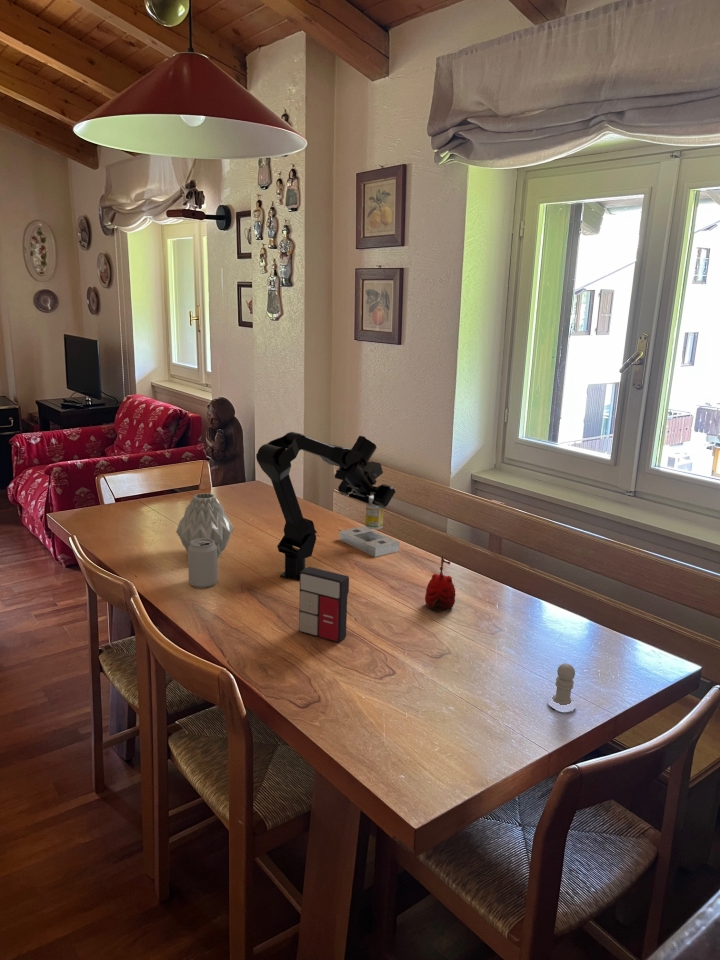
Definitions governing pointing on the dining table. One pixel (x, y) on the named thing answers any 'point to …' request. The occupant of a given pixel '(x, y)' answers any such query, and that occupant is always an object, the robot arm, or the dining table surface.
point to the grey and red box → (323, 603)
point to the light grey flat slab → (375, 546)
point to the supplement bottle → (374, 515)
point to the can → (202, 563)
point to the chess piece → (564, 684)
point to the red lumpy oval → (440, 591)
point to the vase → (205, 522)
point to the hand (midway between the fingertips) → (377, 505)
